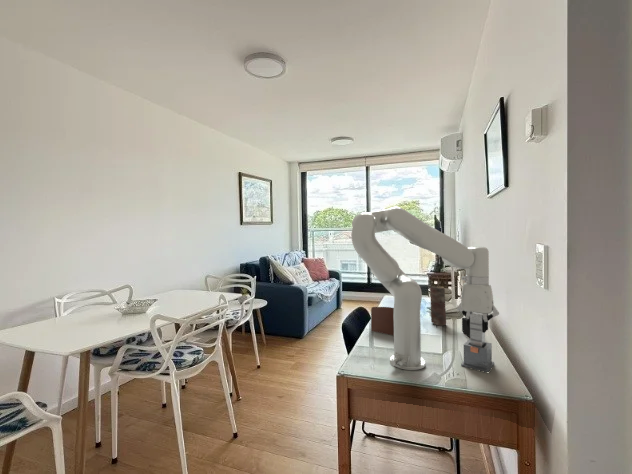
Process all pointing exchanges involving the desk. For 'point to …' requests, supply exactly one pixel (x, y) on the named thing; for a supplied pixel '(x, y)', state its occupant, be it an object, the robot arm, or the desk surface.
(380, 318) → the letter holder
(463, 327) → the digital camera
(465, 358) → the stand base
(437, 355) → the desk surface
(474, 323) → the column
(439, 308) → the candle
